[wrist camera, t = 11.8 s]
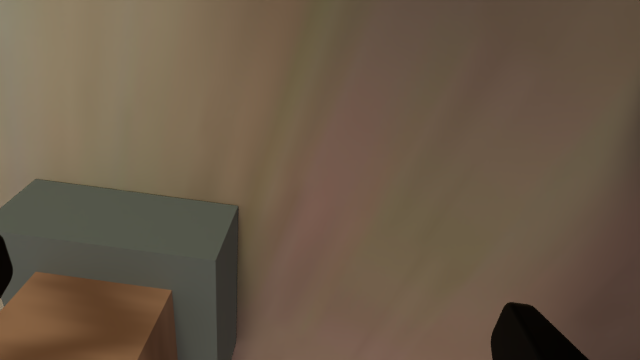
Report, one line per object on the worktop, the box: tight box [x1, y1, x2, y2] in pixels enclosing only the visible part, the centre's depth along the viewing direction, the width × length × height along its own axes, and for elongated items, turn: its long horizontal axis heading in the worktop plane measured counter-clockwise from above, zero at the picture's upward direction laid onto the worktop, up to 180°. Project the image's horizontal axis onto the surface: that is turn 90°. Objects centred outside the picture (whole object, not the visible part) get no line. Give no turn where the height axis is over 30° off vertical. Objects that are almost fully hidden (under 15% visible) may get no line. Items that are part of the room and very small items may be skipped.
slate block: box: [0, 179, 238, 360], centre depth 23 cm, size 10×10×4 cm
